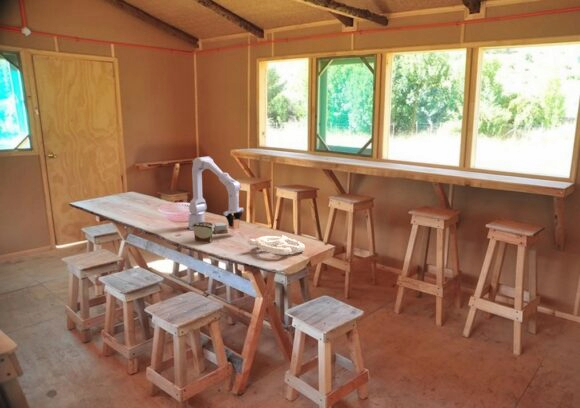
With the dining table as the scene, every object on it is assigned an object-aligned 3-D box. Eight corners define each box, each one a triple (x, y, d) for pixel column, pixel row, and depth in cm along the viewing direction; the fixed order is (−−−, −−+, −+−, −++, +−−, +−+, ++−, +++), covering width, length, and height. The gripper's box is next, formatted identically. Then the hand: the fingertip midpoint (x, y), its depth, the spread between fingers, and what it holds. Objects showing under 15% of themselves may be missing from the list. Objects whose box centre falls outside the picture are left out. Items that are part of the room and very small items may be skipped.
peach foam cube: (234, 229, 250) (234, 221, 249) (228, 228, 253) (228, 219, 252) (239, 227, 254) (239, 219, 253) (233, 226, 256) (233, 218, 255)
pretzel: (280, 242, 248) (282, 231, 247) (311, 254, 232) (313, 242, 231) (242, 246, 228) (243, 234, 227) (273, 260, 212) (275, 247, 211)
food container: (218, 240, 244) (217, 223, 242) (212, 243, 239) (212, 225, 237) (198, 237, 248) (198, 220, 246) (192, 240, 243) (192, 223, 240)
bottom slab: (215, 234, 256) (215, 230, 256) (213, 231, 263) (213, 227, 262) (227, 233, 259) (227, 229, 258) (225, 230, 265) (225, 226, 264)
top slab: (216, 230, 257) (216, 226, 256) (214, 227, 262) (214, 223, 261) (226, 229, 259) (226, 225, 258) (224, 226, 264) (224, 222, 264)
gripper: (230, 205, 242) (230, 229, 245) (247, 201, 254) (247, 224, 257) (220, 203, 246) (221, 227, 249) (238, 199, 258) (238, 221, 261)
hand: (233, 225), depth 253 cm, fingers closed on peach foam cube, 4 cm apart
